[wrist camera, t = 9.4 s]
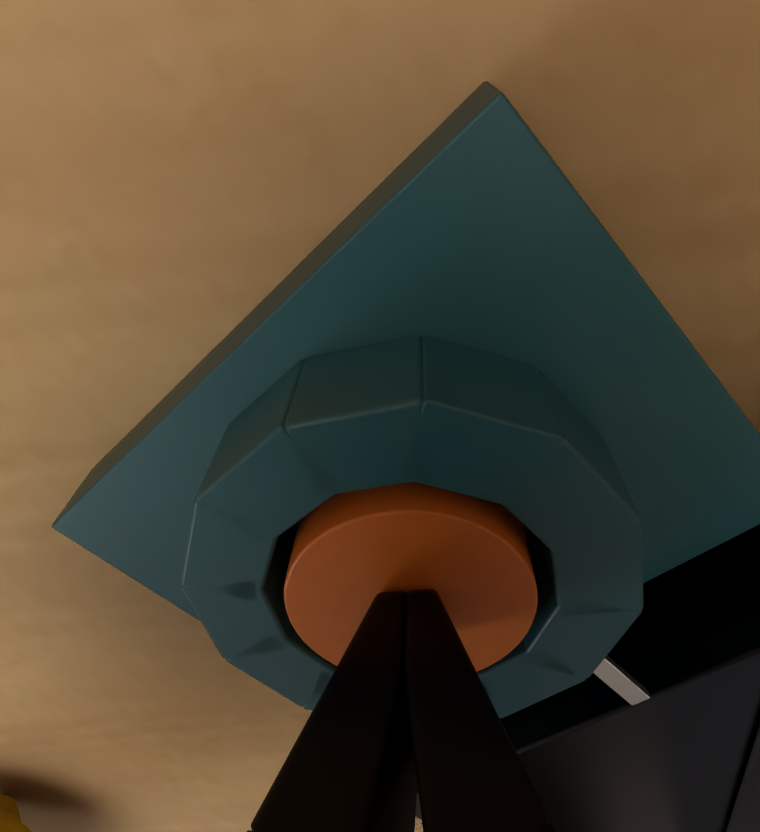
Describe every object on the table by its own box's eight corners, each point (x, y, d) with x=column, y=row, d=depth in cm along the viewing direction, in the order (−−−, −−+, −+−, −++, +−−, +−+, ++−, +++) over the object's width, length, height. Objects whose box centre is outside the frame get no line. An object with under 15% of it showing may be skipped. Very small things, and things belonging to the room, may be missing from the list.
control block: (368, 659, 15) (358, 812, 12) (91, 468, 12) (-10, 608, 9) (759, 439, 11) (882, 587, 8) (486, 79, 8) (526, 110, 5)
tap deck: (622, 851, 20) (655, 978, 17) (335, 657, 15) (318, 792, 13) (1104, 699, 15) (1256, 847, 12) (896, 330, 10) (1073, 441, 7)
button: (403, 623, 12) (401, 712, 10) (257, 516, 10) (231, 598, 9) (564, 530, 10) (590, 617, 9) (418, 390, 9) (420, 464, 7)
